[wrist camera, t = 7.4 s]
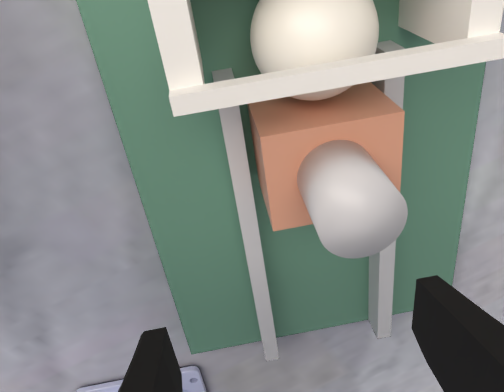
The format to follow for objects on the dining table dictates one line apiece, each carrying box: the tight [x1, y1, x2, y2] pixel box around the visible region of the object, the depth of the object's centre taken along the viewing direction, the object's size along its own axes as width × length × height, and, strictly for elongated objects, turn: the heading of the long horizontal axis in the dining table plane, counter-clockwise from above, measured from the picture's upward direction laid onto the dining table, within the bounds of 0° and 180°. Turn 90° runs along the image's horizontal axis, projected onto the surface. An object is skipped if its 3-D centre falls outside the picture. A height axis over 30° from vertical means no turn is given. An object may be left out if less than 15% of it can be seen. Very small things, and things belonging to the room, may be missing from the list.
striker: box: [247, 82, 408, 259], centre depth 16 cm, size 4×5×7 cm
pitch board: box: [76, 0, 486, 361], centre depth 21 cm, size 22×16×2 cm
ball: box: [250, 0, 379, 101], centre depth 15 cm, size 4×4×4 cm
